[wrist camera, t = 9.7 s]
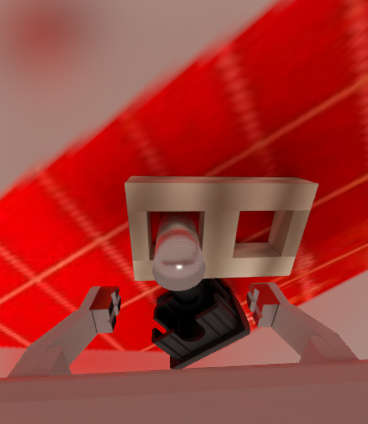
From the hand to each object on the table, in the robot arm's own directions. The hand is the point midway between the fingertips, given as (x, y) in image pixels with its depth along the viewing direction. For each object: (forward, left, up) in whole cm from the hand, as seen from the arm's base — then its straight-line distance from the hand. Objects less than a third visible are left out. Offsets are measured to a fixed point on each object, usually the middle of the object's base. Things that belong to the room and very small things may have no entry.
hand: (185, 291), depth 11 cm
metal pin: (0, 0, -10) cm, 10 cm away
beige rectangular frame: (-4, 0, -10) cm, 11 cm away
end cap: (-3, +12, -11) cm, 16 cm away
